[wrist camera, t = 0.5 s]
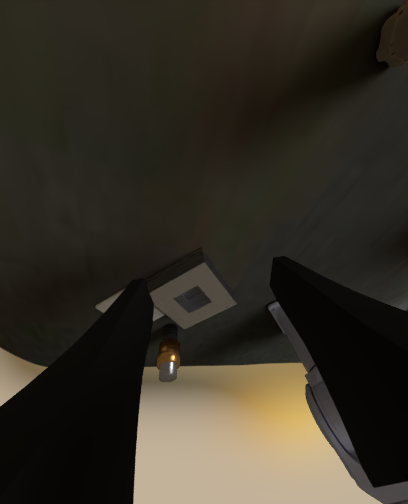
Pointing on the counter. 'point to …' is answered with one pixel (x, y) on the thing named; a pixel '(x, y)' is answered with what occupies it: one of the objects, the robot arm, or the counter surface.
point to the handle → (395, 38)
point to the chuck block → (191, 290)
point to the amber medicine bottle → (169, 354)
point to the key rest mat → (107, 303)
